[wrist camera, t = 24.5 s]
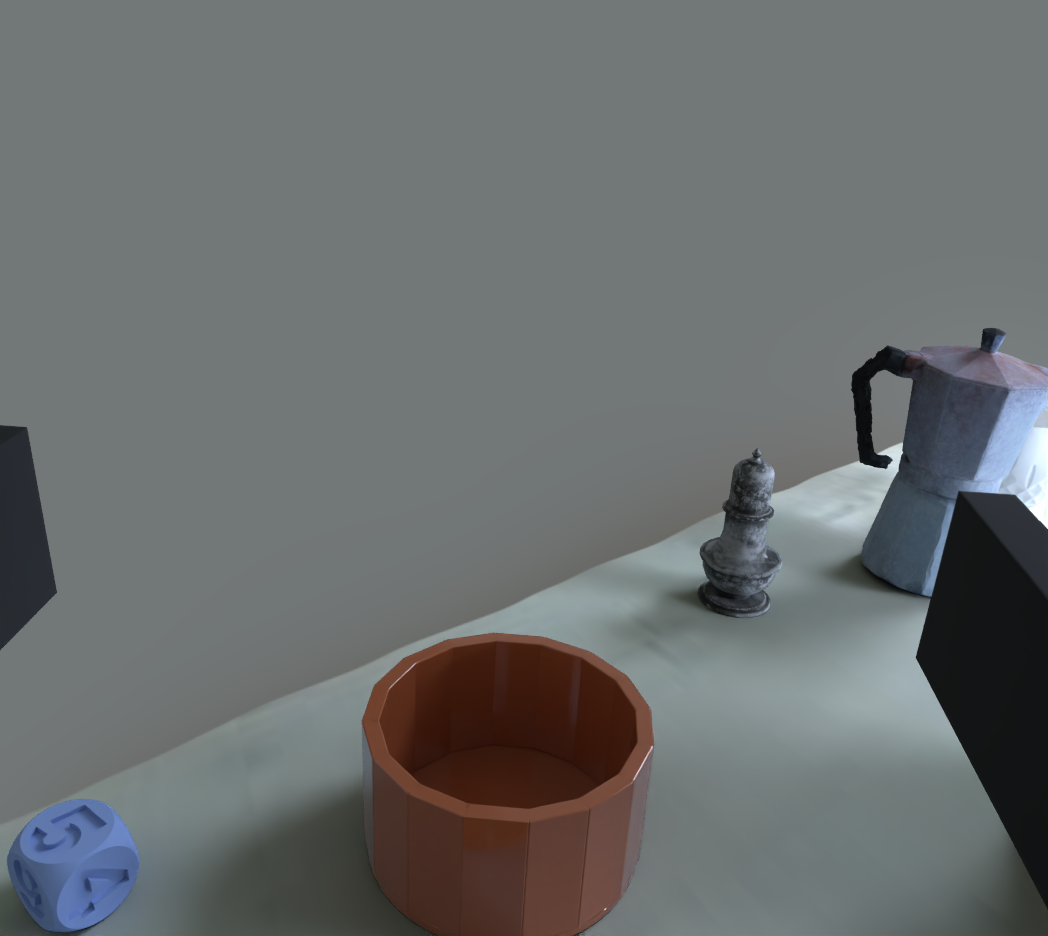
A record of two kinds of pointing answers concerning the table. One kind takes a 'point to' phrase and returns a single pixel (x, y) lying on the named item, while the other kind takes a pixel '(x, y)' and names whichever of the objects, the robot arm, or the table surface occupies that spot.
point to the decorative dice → (73, 864)
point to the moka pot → (943, 446)
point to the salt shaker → (742, 545)
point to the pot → (505, 786)
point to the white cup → (1031, 469)
